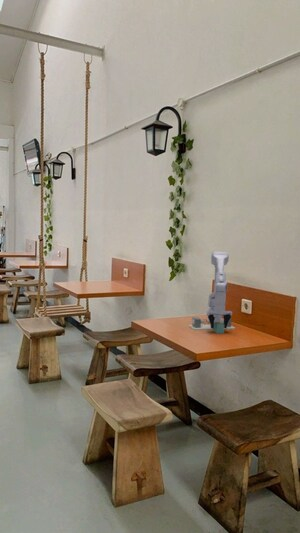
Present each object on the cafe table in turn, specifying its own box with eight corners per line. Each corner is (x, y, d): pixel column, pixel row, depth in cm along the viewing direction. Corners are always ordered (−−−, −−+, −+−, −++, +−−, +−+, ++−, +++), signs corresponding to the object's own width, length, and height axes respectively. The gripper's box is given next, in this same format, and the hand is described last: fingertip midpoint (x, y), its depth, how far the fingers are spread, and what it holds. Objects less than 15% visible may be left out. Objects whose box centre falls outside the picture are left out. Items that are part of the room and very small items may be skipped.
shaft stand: (188, 326, 241) (189, 316, 241) (228, 325, 247) (228, 316, 247) (194, 330, 232) (194, 320, 232) (234, 329, 239) (235, 319, 238)
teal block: (212, 330, 233) (213, 321, 233) (219, 330, 234) (220, 321, 234) (217, 333, 227) (217, 323, 227) (223, 333, 228) (224, 323, 228)
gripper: (210, 305, 224) (209, 330, 225) (235, 305, 227) (233, 329, 228) (205, 302, 230) (204, 326, 232) (229, 302, 234) (228, 326, 235)
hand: (218, 327), depth 230 cm, fingers open, 7 cm apart
